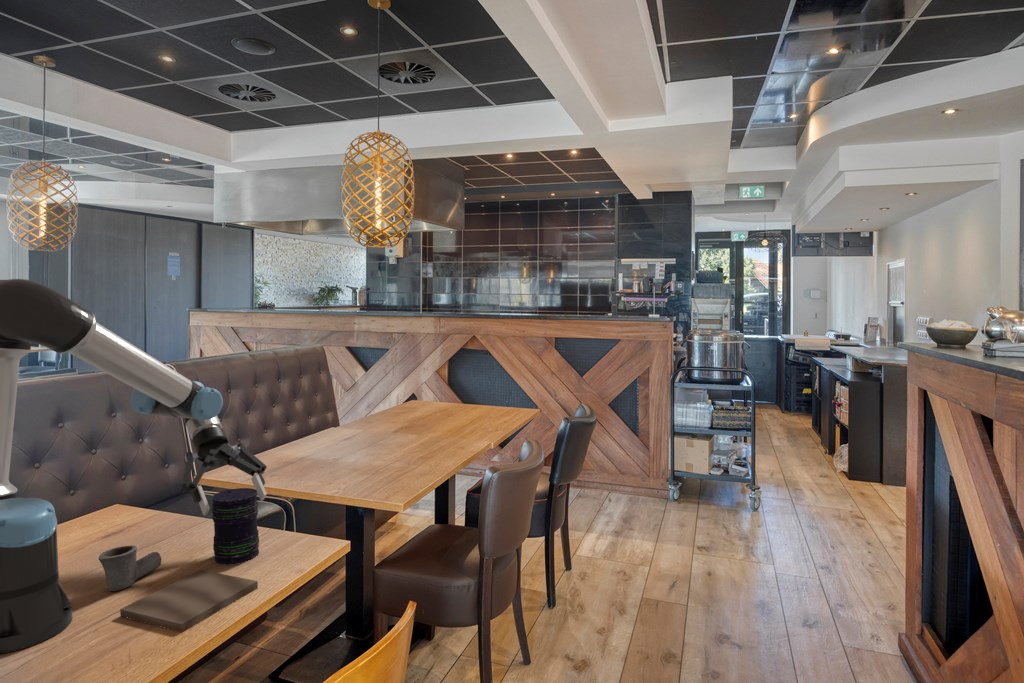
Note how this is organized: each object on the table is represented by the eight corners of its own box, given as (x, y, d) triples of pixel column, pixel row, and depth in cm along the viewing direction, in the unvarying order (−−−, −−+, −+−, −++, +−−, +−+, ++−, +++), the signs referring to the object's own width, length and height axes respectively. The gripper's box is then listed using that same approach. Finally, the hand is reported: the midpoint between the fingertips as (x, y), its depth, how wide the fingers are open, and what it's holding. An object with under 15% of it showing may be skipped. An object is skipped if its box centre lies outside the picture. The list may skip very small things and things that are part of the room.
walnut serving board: (182, 632, 106) (181, 624, 106) (120, 616, 112) (120, 609, 112) (257, 588, 123) (257, 581, 123) (200, 576, 128) (200, 569, 128)
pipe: (167, 571, 131) (165, 536, 131) (113, 598, 119) (112, 559, 119) (145, 568, 133) (144, 533, 133) (91, 594, 121) (89, 556, 120)
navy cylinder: (267, 555, 139) (265, 493, 139) (224, 569, 132) (222, 504, 131) (248, 544, 146) (246, 485, 145) (206, 557, 139) (204, 495, 138)
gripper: (250, 434, 161) (280, 499, 152) (149, 452, 142) (176, 527, 133) (259, 417, 157) (290, 483, 148) (156, 433, 138) (184, 510, 129)
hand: (236, 504), depth 140 cm, fingers open, 13 cm apart
